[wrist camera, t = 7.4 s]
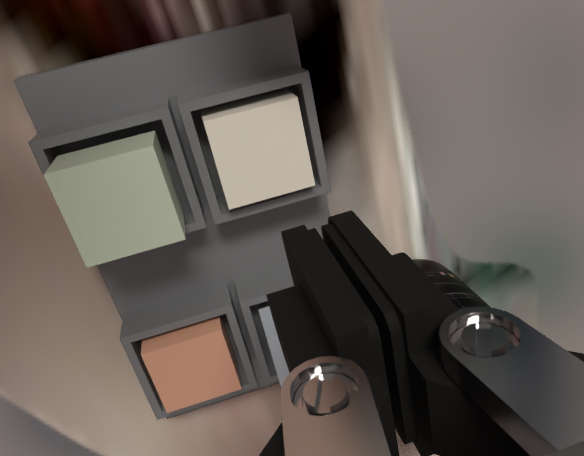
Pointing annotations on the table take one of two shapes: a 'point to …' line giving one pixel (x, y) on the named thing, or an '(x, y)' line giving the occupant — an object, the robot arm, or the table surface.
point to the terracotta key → (191, 363)
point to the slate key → (274, 344)
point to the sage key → (117, 198)
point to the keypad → (190, 182)
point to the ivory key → (259, 147)
